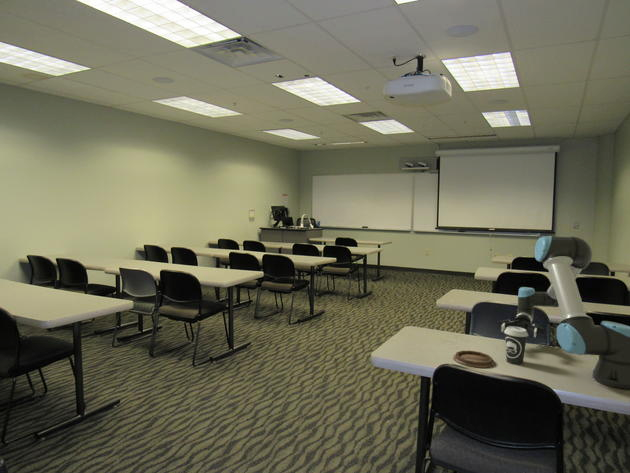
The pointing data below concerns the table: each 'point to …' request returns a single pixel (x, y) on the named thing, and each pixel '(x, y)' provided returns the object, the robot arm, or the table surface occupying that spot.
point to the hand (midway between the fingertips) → (518, 331)
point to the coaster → (474, 359)
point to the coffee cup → (515, 344)
